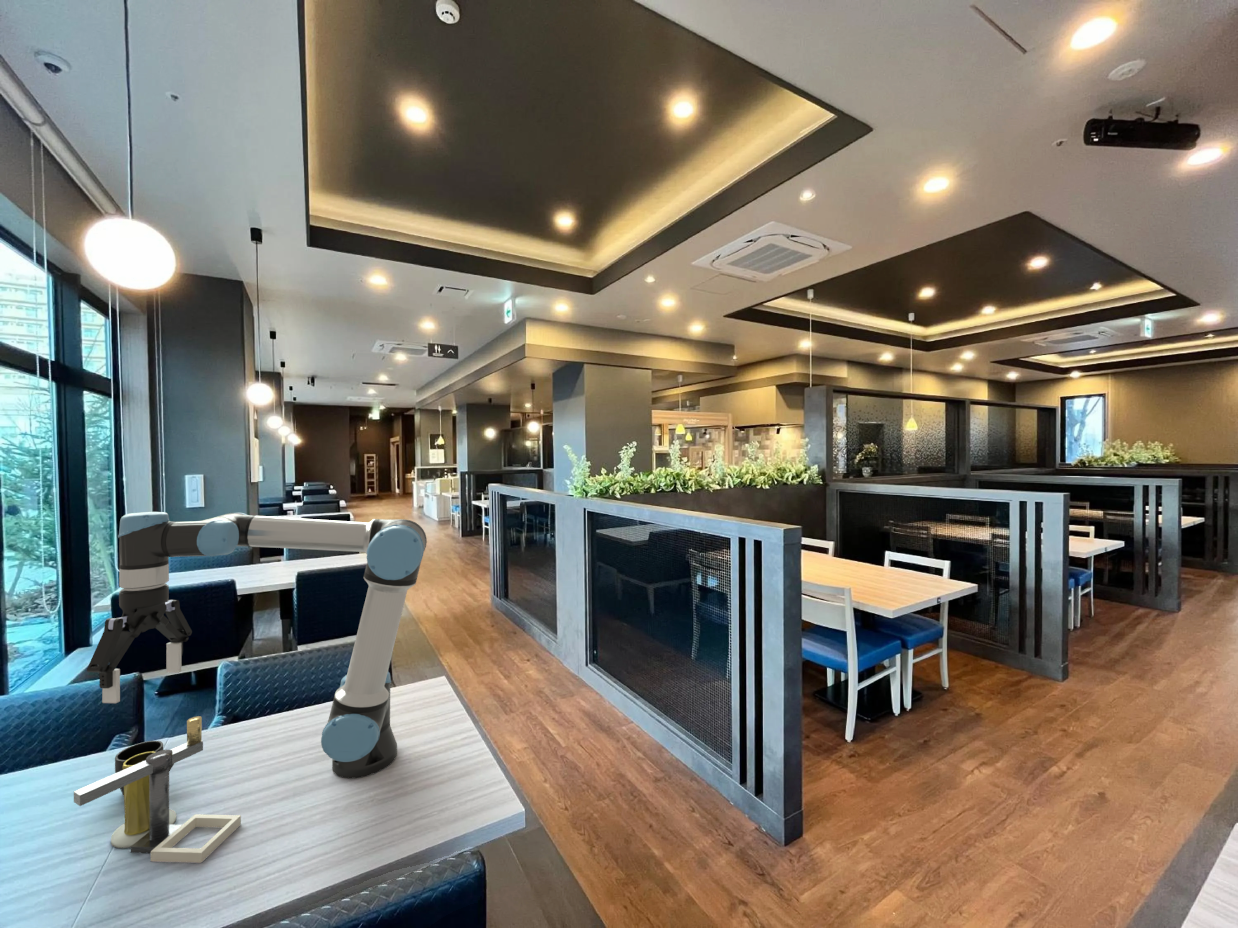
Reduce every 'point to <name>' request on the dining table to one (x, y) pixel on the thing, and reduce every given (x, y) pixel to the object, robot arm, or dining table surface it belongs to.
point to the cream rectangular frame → (195, 855)
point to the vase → (136, 799)
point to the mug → (136, 750)
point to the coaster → (126, 841)
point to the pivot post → (156, 814)
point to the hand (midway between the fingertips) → (144, 686)
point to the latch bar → (145, 765)
